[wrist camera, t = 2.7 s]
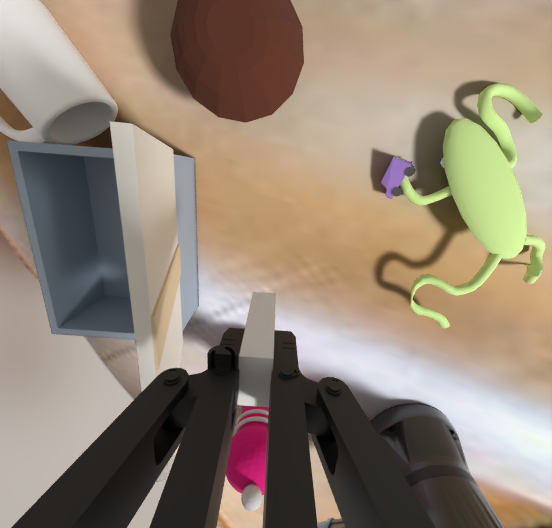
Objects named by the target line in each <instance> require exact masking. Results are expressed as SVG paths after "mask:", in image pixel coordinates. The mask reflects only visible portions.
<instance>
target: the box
mask: <svg viewBox="0 0 552 528" xmlns="http://www.w3.org/2000/svg"><path fill="white" fill-rule="evenodd" d="M6 141H7V145H8V150H9V154H10V158H11V162H12V167H13V171H14V175H15V179H16V184H17V188H18V192H19V196H20V201H21V205H22V209H23V213H24V217H25V222H26V226H27V230H28V234H29V239H30V243H31V247H32V251H33V256H34V260H35V264H36V268H37V273H38V277H39V281H40V285H41V290H42V294H43V298H44V302H45V307H46V310H47V315H48V319H49V323H50V328H51V332H52V334H61V335H62V334H63V335H78V336H91V337H105V338H120V339H135V333H134V324H133V316H132V307H131V299H130V290H129V282H128V273H127V265H126V256H125V248H124V239H123V231H122V222H121V214H120V206H119V197H118V189H117V180H116V172H115V163H114V155H113V148H101V147H87V146H74V145H61V144H48V143H35V142H22V141H8V140H6ZM173 155H174V175H175V195H176V215H177V235H178V244H180V262H181V276H180V295H181V315H182V331H183V330H184V328H185V327H186V325H187V323H188V322H189V320H190V319H191V317H192V315H193V314H194V312H195V310H196V309H197V307H198V306H199V294H198V255H197V217H196V178H195V158H190V157H185V156H180V155H175V154H173Z"/></svg>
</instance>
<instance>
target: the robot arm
mask: <svg viewBox="0 0 552 528" xmlns="http://www.w3.org/2000/svg"><path fill="white" fill-rule="evenodd" d="M275 297H276V294H274V293H260V292H253V295H252V300H251V304H250V309H249V313H248V318H247V322H246V327H245V329H237V328H229V329H228V330H227V331H226V332H224V334H223V337H222V340H221V343H220V345H218V346H215V347H213V348H212V349H210V350H209V352H208V369H207V370H206V371H204V372H202V373H198V374H193V375H188V373H187V371H186V370H184V369H182V368H170V369H167V370H165V371H163V372H162V373H160V374H159V375H158V376H157V377H156V378H155V379H154V380H153V381H152V382H151V383H150V384H149V385H148V386H147V387H146V388H145V389H144V390H143V391H142V392H141V393H140V395H139V396H138V397H137V398H136V399H135V400H134V401H133V402H132V403H131V404H130V405H129V406H128V407H127V408H126V409H125V410H124V411H123V412H122V413H121V415H119V416H118V417H117V418H116V419H115V421H114V422H113V423H112V424H111V425H110V426H109V427H108V428H107V429H106V430H105V431H104V432H103V433H102V434H101V435H100V436H99V437H98V438H97V439H96V440H95V441H94V442H93V443H92V444H91V445H90V446H89V448H88V449H87V450H86V451H85V452H84V453H83V454H82V455H81V456H80V457H79V458H78V459H77V460H76V461H75V462H74V463H73V464H72V465H71V466H70V468H68V469H67V470H66V471H65V473H63V475H62V476H61V477H60V478H59V479H58V480H57V481H56V482H55V483H54V484H53V485H52V486H51V487H50V488H49V489H48V490H47V491H46V492H45V493H44V494H43V495H42V496H41V497H40V498H39V499H38V500H37V502H36V503H35V504H34V505H33V506H32V507H31V508H30V509H29V510H28V511H27V512H26V513H25V514H24V515H23V516H22V517H21V518H20V519H19V520H18V521H17V522H16V523H15V524H14V525H13V527H12V528H127V526H128V525H129V523H130V522H131V520H132V518H133V517H134V515H135V514H136V512H137V510H138V509H139V507H140V506H141V504H142V503H143V501H144V499H145V498H146V496H147V494H148V493H149V492H150V490H151V488H152V487H153V485H154V484H155V482H156V480H157V479H158V477H159V476H160V474H161V473H162V471H163V469H164V468H165V466H166V465H167V463H168V461H169V460H170V458H171V457H172V455H173V454H174V452H175V450H176V449H177V447H178V446H179V444H180V446H179V448H178V451H177V454H176V457H175V459H174V463H173V465H172V468H171V471H170V473H169V476H168V479H167V481H166V484H165V487H164V490H163V492H162V495H161V498H160V500H159V503H158V506H157V509H156V511H155V514H154V517H153V519H152V523H151V525H150V528H216V526H217V521H218V515H219V509H220V504H221V498H222V492H223V487H224V481H225V475H226V470H227V464H228V458H229V453H230V447H231V441H232V436H233V430H234V424H235V419H236V406H237V405H244V406H259V407H269V413H268V426H267V430H268V431H267V451H266V471H265V492H264V512H263V528H505V527H504V525H503V524H502V522H501V521H500V519H499V518H498V516H497V514H496V513H495V511H494V510H493V508H492V507H491V505H490V504H489V502H488V501H487V499H486V497H485V496H484V494H483V493H482V491H481V490H480V488H479V487H478V485H477V484H476V482H475V480H474V479H473V477H472V476H471V474H470V472H469V469H468V466H467V463H466V459H465V456H464V453H463V450H462V447H461V444H460V440H459V437H458V435H457V432H456V431H455V429H454V427H453V426H452V424H451V423H450V422H449V420H448V419H447V417H446V416H445V415H444V414H443V413H442V412H440V411H439V410H437V409H435V408H433V407H430V406H427V405H421V404H406V405H400V406H396V407H393V408H391V409H388V410H386V411H384V412H383V413H381V414H379V415H378V416H377V417H376V418H374V419H373V420H372V422H371V423H370V421H369V420H368V418H367V416H366V415H365V413H364V412H363V410H362V408H361V407H360V405H359V404H358V402H357V400H356V399H355V397H354V396H353V394H352V392H351V391H350V389H349V388H348V386H347V385H346V384H345V383H344V382H343V381H341V380H339V379H337V378H333V377H326V378H323V379H322V380H320V381H319V383H317V382H314V381H311V380H309V379H307V378H306V377H304V376H303V375H302V374H301V372H300V370H299V368H298V357H297V347H296V337H295V336H294V335H293V333H292V332H290V331H275V330H274V328H275ZM307 432H309V433H311V436H312V439H313V442H314V444H315V447H316V450H317V453H318V455H319V458H320V461H321V463H322V466H323V469H324V471H325V474H326V477H327V479H328V482H329V485H330V488H331V490H332V493H333V496H334V498H335V501H336V504H337V506H338V509H339V512H340V514H341V517H342V518H341V519H334V518H329V519H328V520H327V521H324V522H320V523H317V518H316V508H315V499H314V489H313V480H312V470H311V461H310V452H309V442H308V433H307ZM180 442H181V443H180Z"/></svg>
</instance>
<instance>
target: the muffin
mask: <svg viewBox="0 0 552 528" xmlns="http://www.w3.org/2000/svg"><path fill="white" fill-rule="evenodd" d="M171 40H172V45H173V51H174V57H175V63H176V69H177V71H178V73H179V74H180V76H181V78H182V79H183V81H184V83H185V84H186V86H187V88H188V90H189V91H190V93H191V95H192V96H193V98H194V99H195V100H196V101H198V102H199V103H200V104H202V105H203V106H204V107H206V108H207V109H208V110H210V111H211V112H212V113H214V114H215V115H216V116H218V117H221V118H226V119H231V120H236V121H241V122H249V121H252V120H256V119H259V118H262V117H265V116H269V115H272V114H273V113H274V112H275V111H276V110H277V109H278V108H279V107H280V106H281V105H282V104H283V103H284V102H285V101H286V100H287V99H288V98H289V97H290V96H291V95H292V94H293V91H294V89H295V86H296V83H297V80H298V78H299V75H300V72H301V69H302V66H303V64H304V56H303V31H302V25H301V23H300V21H299V19H298V16H297V14H296V12H295V10H294V7H293V5H292V3H291V1H290V0H178V3H177V7H176V12H175V17H174V21H173V26H172V30H171Z"/></svg>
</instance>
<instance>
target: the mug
mask: <svg viewBox="0 0 552 528" xmlns="http://www.w3.org/2000/svg"><path fill="white" fill-rule="evenodd" d="M0 88H1V89H2V91H3V92H4V93H5V94H6V95H7V97H8V98H9V99H10V100H11V101H12V103H13V104H14V105H15V106H16V107H17V109H18V110H19V111H20V112H21V113H22V114H23V116H24V117H25V118H26V119H27V120H28V122H29V123H30V124H31V125H32V126H33V127H32V128H30V129H27V130H23V131H19V130H15V129H13V128H12V127H11V126H10V125H8V124H7V123H6V122H5V121H4V120H3V119H2V117H1V116H0V132H2V133H3V134H5V135H6V136H8V137H10V138H12V139H14V140H16V141H22V142H35V143H43V142H45V141H46V142H48V143H51V144H61V145H74V144H79V143H82V142H85V141H88V140H90V139H92V138H94V137H96V136H98V135H99V134H101V133H102V132H104V131H105V130H106V129H107V128H109V127H110V121H112V122H114V120H115V119H116V117H117V113H118V107H117V104H116V102H115V101H114V100H113V98H112V97H111V95H110V94H109V93H108V91H107V90H106V89H105V87H104V86H103V85H102V83H101V82H100V80H99V79H98V78H97V76H96V75H95V74H94V72H93V71H92V70H91V68H90V67H89V65H88V64H87V63H86V61H85V60H84V59H83V57H82V56H81V55H80V53H79V52H78V50H77V49H76V48H75V46H74V45H73V44H72V42H71V41H70V39H69V38H68V37H67V35H66V34H65V33H64V31H63V30H62V29H61V27H60V26H59V24H58V23H57V22H56V20H55V19H54V18H53V16H52V15H51V14H50V12H49V11H48V9H47V8H46V7H45V6H44V5H43V4H42V3H41V2H40V1H39V0H0Z"/></svg>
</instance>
